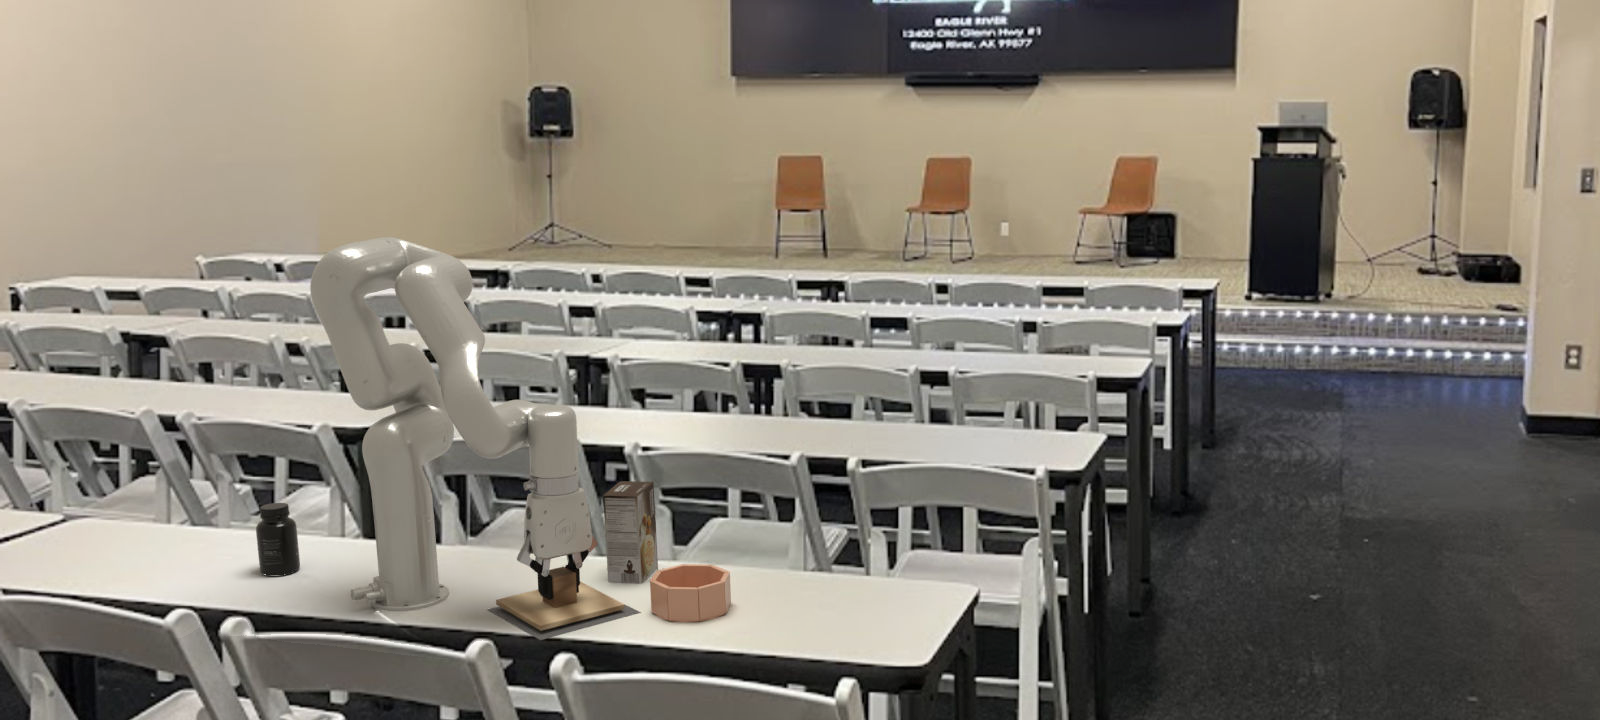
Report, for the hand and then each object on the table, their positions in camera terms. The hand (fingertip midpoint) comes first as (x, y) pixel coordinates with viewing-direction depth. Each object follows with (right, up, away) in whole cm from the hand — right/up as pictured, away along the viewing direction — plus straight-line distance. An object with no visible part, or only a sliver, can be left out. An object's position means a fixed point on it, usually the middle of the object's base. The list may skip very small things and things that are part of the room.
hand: (559, 592), depth 245 cm
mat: (+1, -4, 0) cm, 4 cm away
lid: (0, -2, 0) cm, 2 cm away
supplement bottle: (-54, 0, +27) cm, 60 cm away
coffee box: (+10, 0, +18) cm, 20 cm away
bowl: (+21, -3, 0) cm, 21 cm away
